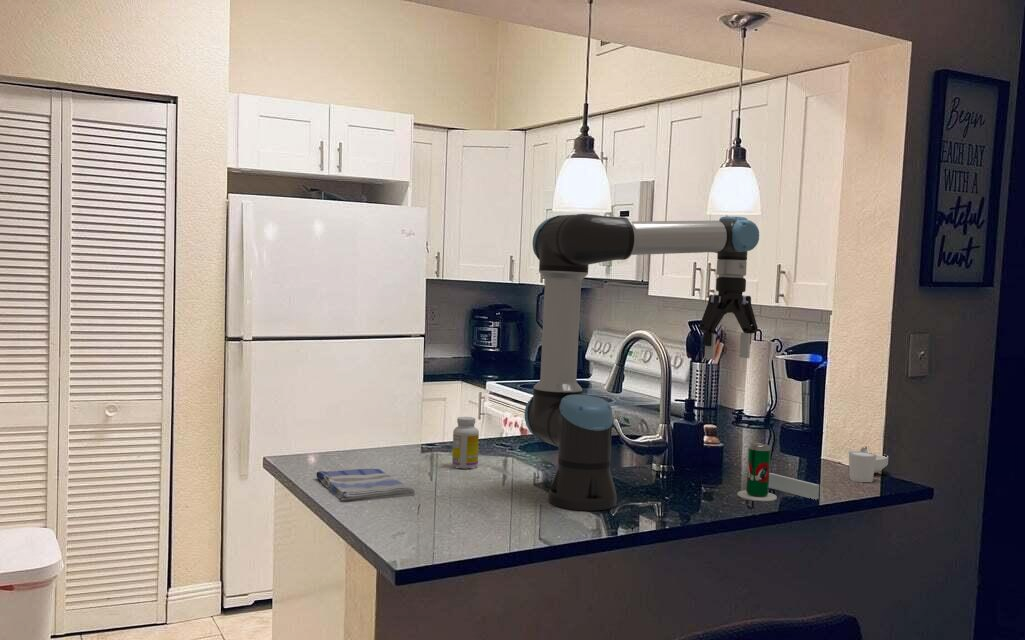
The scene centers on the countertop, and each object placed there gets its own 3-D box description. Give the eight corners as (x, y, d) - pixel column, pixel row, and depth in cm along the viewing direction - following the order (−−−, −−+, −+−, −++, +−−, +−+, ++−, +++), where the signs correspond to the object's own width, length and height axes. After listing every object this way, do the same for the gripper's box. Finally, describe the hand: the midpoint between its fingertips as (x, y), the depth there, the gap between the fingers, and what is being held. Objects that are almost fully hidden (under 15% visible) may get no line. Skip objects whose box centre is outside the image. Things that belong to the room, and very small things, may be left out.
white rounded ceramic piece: (849, 474, 236) (850, 449, 236) (845, 466, 248) (847, 442, 247) (889, 478, 233) (891, 453, 233) (884, 469, 245) (886, 445, 244)
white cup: (877, 484, 226) (879, 457, 226) (849, 482, 227) (851, 455, 227) (872, 478, 233) (873, 452, 232) (845, 476, 234) (846, 450, 234)
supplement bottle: (480, 465, 231) (481, 416, 230) (474, 470, 225) (476, 420, 224) (455, 463, 232) (457, 415, 232) (449, 468, 226) (451, 419, 225)
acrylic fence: (754, 483, 221) (754, 470, 221) (756, 483, 222) (757, 469, 222) (815, 500, 207) (816, 485, 207) (818, 499, 207) (819, 484, 207)
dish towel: (341, 505, 189) (342, 492, 189) (313, 480, 210) (313, 469, 210) (417, 498, 197) (417, 486, 197) (382, 475, 218) (383, 464, 218)
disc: (733, 497, 206) (733, 495, 206) (743, 489, 214) (743, 488, 214) (772, 503, 202) (772, 501, 202) (780, 495, 210) (780, 494, 210)
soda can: (771, 495, 208) (774, 445, 208) (762, 498, 204) (765, 447, 204) (751, 491, 212) (754, 441, 211) (742, 494, 208) (745, 444, 207)
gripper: (709, 275, 217) (705, 361, 218) (773, 278, 231) (769, 358, 233) (687, 275, 223) (683, 358, 224) (750, 277, 238) (747, 355, 239)
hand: (727, 358), depth 228 cm, fingers open, 13 cm apart
